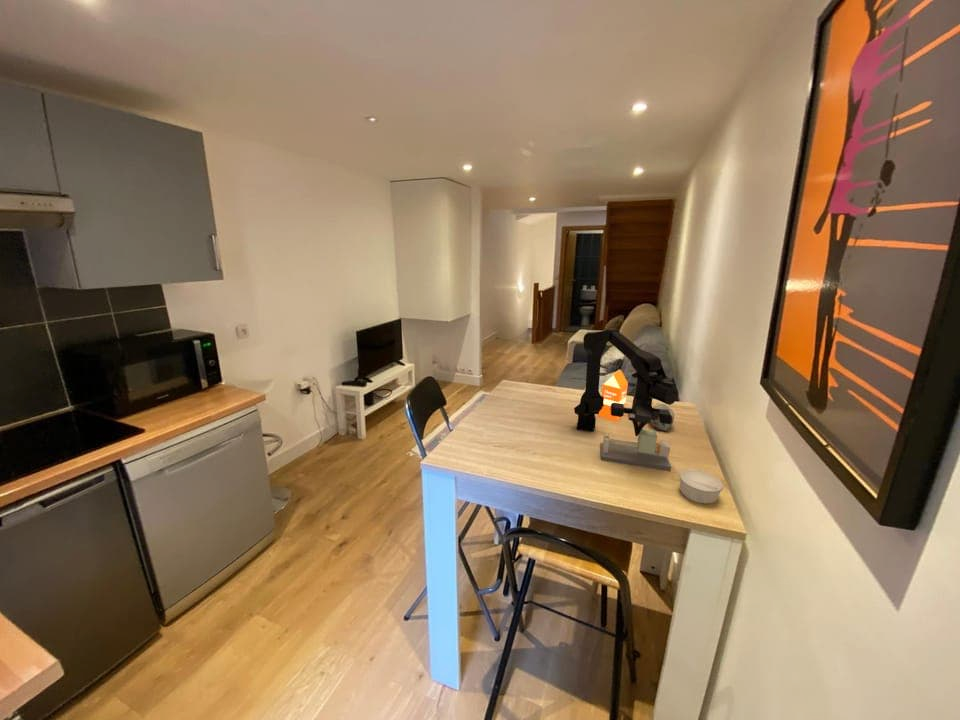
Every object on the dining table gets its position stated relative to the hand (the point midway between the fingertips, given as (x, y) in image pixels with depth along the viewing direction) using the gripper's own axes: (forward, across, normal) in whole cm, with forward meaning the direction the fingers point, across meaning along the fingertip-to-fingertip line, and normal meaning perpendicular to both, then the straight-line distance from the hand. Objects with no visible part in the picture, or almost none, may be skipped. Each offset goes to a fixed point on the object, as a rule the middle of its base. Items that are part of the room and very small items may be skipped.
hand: (636, 435), depth 129 cm
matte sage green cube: (+5, +4, 0) cm, 6 cm away
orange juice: (+9, -5, +35) cm, 36 cm away
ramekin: (+9, +17, -16) cm, 25 cm away
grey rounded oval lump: (+8, +14, +31) cm, 35 cm away
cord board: (+9, 0, 0) cm, 9 cm away
